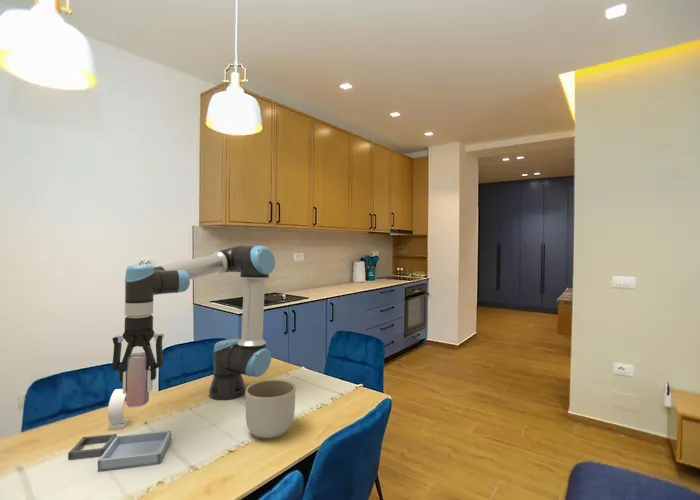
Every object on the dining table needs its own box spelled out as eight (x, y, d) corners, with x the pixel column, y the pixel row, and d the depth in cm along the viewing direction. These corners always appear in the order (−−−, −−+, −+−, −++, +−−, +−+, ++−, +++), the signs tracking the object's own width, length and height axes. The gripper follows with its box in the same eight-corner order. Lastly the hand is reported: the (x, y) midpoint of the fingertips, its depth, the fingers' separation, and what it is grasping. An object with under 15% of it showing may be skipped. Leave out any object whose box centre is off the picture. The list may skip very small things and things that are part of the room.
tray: (171, 439, 119) (171, 430, 119) (160, 463, 105) (160, 453, 105) (116, 445, 115) (116, 435, 115) (97, 471, 101) (97, 461, 101)
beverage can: (132, 400, 113) (133, 352, 113) (152, 399, 113) (153, 352, 113) (121, 408, 107) (122, 357, 107) (142, 408, 107) (143, 357, 107)
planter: (250, 449, 113) (251, 401, 113) (240, 425, 129) (241, 383, 129) (301, 437, 121) (302, 392, 121) (286, 416, 136) (287, 376, 136)
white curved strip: (129, 421, 131) (129, 388, 131) (122, 429, 125) (122, 395, 125) (115, 422, 130) (115, 389, 130) (107, 430, 124) (107, 395, 124)
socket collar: (116, 439, 118) (116, 433, 118) (104, 455, 109) (104, 449, 109) (83, 443, 116) (83, 437, 116) (68, 460, 107) (68, 453, 107)
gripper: (175, 312, 116) (174, 384, 116) (108, 314, 111) (107, 389, 111) (170, 316, 109) (168, 393, 109) (98, 319, 104) (97, 398, 104)
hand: (137, 391), depth 110 cm, fingers closed on beverage can, 6 cm apart
